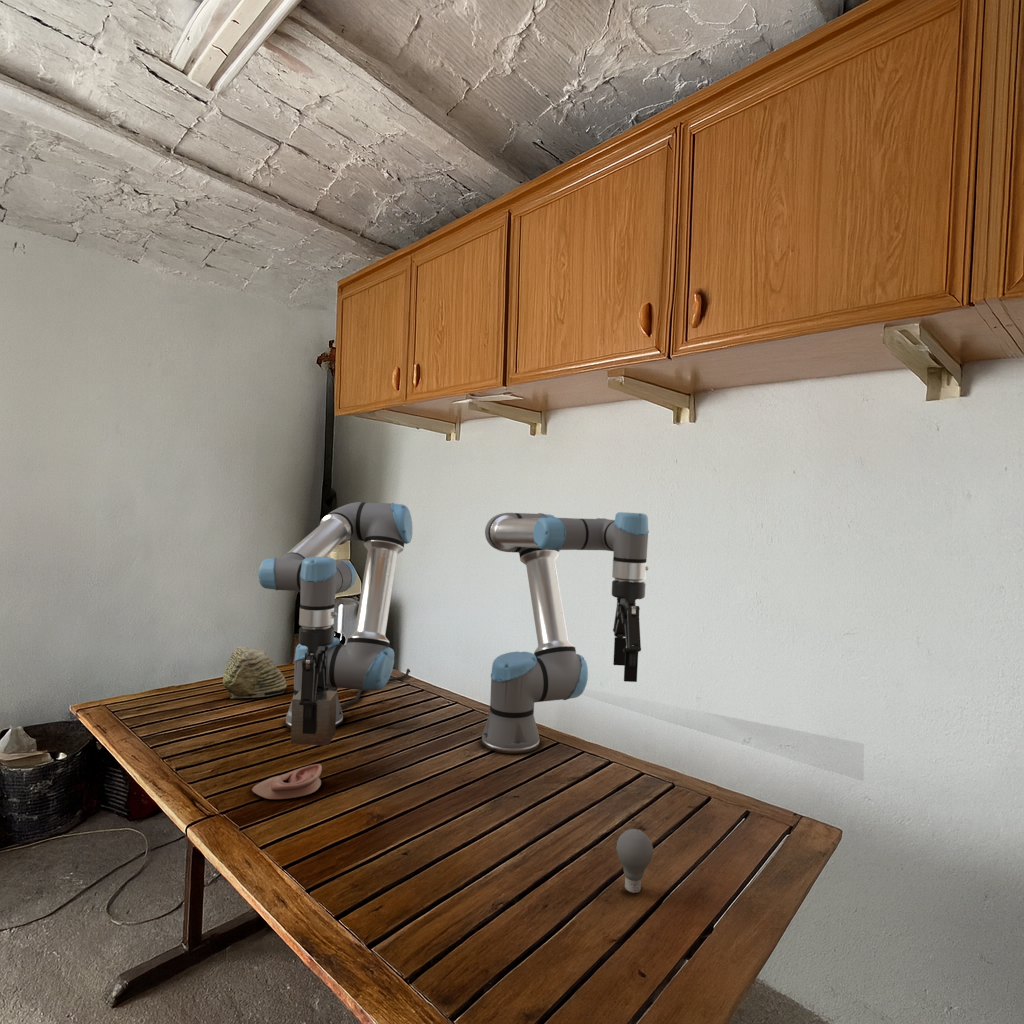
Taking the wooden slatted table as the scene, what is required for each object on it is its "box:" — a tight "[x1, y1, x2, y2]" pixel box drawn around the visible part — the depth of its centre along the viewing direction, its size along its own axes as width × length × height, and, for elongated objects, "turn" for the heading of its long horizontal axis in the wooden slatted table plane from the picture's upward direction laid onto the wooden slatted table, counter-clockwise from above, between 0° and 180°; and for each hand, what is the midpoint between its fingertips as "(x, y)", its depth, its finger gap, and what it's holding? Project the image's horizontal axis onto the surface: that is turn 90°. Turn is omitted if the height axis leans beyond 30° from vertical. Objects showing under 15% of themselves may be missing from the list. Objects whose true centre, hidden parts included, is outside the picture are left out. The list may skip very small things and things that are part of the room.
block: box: [290, 690, 338, 746], centre depth 143 cm, size 8×6×10 cm
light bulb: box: [615, 828, 654, 894], centre depth 106 cm, size 6×6×10 cm
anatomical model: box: [251, 763, 323, 800], centre depth 137 cm, size 13×4×12 cm
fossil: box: [222, 646, 288, 699], centre depth 198 cm, size 9×18×15 cm, turn 132°
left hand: (313, 726), depth 144 cm, fingers closed on block, 6 cm apart
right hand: (624, 672), depth 145 cm, fingers open, 13 cm apart
